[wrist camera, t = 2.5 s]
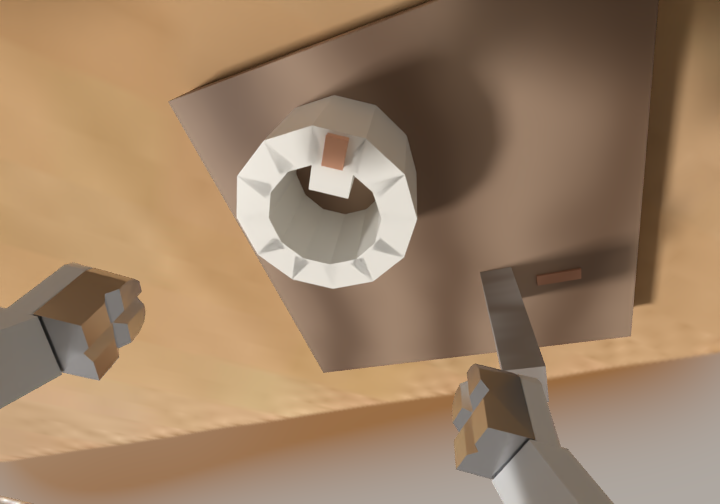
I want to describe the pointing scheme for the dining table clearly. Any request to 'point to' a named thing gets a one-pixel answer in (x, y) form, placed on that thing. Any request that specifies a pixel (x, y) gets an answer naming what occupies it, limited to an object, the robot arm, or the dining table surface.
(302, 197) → the white hollow tube
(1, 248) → the dining table surface
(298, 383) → the dining table surface
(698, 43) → the dining table surface
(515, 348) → the board
